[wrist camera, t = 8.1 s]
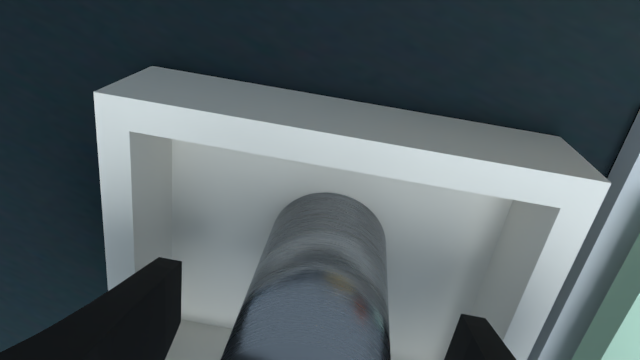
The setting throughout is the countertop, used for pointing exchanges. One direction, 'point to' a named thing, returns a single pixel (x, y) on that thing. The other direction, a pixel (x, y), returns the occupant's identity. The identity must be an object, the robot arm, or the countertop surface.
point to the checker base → (596, 258)
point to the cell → (317, 287)
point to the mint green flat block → (617, 317)
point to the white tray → (347, 179)
